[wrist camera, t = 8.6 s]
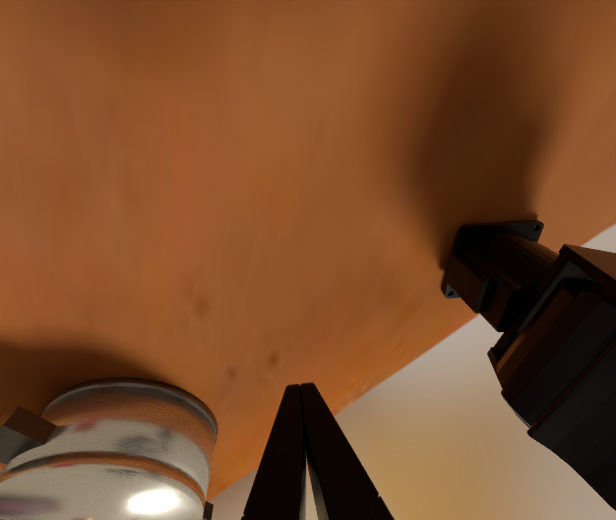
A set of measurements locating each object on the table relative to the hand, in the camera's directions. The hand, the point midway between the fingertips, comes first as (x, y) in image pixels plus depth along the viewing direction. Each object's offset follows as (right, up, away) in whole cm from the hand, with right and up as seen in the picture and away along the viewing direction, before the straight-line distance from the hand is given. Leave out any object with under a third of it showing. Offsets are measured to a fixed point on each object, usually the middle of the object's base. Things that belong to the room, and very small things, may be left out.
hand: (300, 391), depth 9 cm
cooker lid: (-19, -17, +16) cm, 30 cm away
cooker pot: (-17, -13, +21) cm, 30 cm away
